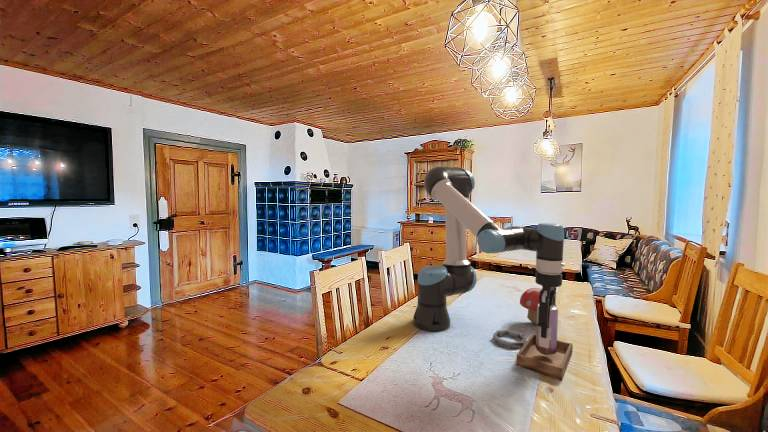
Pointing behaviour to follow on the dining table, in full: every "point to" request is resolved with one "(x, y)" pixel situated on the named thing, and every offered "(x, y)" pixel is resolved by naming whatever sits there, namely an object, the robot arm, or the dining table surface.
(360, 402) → the dining table surface
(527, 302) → the decorative mushroom
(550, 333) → the beverage can
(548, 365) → the crate
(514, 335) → the collar
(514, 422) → the dining table surface
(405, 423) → the dining table surface
